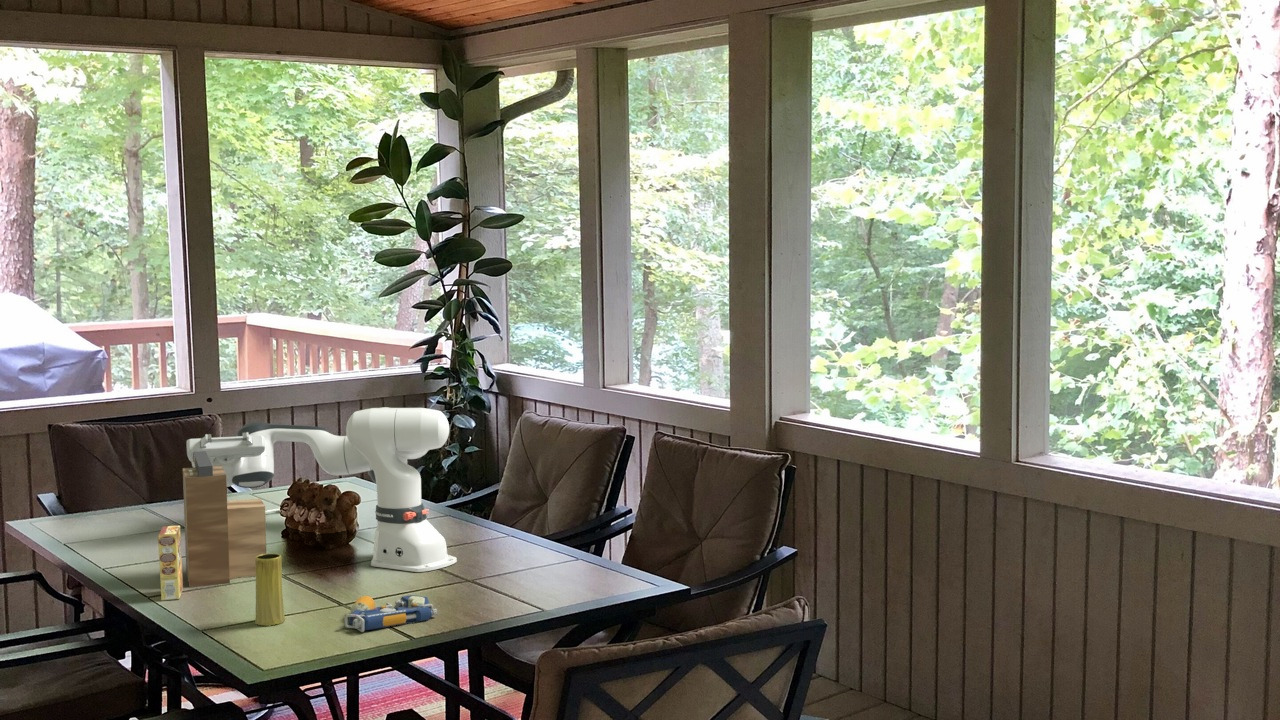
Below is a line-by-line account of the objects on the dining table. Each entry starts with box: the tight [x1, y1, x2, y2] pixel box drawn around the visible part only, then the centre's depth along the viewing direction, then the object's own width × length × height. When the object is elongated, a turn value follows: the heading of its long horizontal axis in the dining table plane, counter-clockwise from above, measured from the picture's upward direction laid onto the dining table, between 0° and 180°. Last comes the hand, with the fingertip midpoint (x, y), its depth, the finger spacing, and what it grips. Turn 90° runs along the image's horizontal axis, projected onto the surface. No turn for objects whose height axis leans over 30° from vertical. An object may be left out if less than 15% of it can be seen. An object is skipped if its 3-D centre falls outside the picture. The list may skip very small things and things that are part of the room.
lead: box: [193, 451, 213, 477], centre depth 296 cm, size 24×3×2 cm, turn 23°
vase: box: [254, 552, 286, 627], centre depth 258 cm, size 6×6×14 cm
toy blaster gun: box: [344, 594, 438, 633], centre depth 261 cm, size 21×4×15 cm
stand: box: [182, 466, 268, 588], centre depth 295 cm, size 14×18×26 cm
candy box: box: [157, 525, 184, 601], centre depth 278 cm, size 9×4×15 cm, turn 16°
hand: (227, 435), depth 324 cm, fingers open, 8 cm apart
